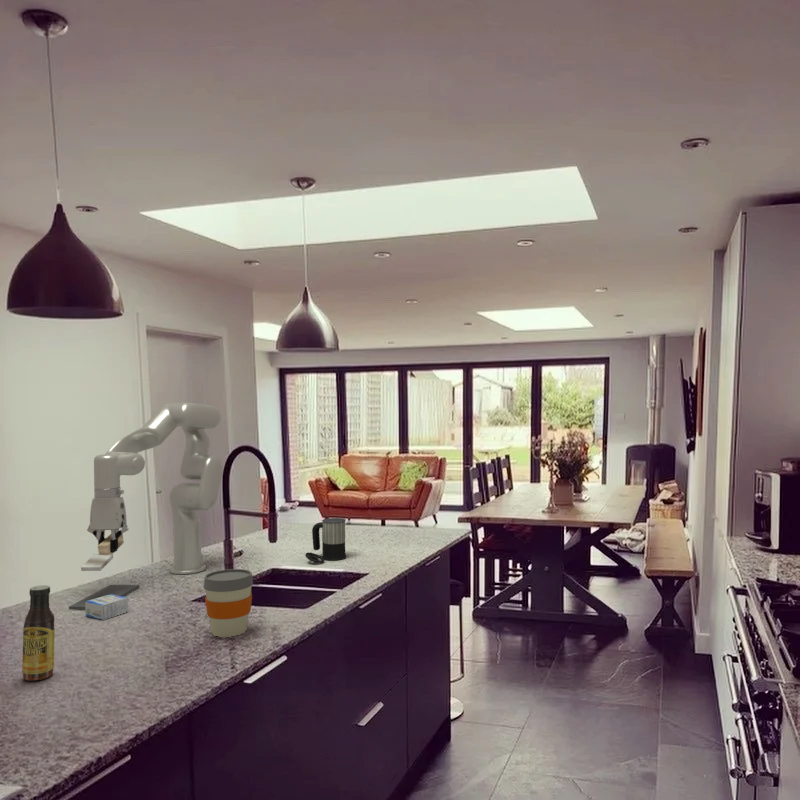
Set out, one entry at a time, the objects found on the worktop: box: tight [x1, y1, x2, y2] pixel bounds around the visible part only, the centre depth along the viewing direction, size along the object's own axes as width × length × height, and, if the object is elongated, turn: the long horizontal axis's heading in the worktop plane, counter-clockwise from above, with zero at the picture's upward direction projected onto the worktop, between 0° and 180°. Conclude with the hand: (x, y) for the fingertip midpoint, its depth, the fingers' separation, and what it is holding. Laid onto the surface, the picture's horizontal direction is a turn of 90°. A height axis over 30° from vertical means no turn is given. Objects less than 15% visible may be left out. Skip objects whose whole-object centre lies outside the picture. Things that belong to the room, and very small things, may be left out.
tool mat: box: [68, 584, 141, 610], centre depth 211 cm, size 24×10×1 cm, turn 175°
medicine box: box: [84, 594, 129, 621], centre depth 194 cm, size 8×4×9 cm
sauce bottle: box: [21, 584, 56, 682], centre depth 150 cm, size 7×6×20 cm
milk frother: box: [305, 517, 347, 564], centre depth 256 cm, size 14×16×15 cm
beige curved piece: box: [80, 533, 125, 572], centre depth 211 cm, size 18×6×4 cm, turn 175°
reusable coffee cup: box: [203, 568, 254, 638], centre depth 177 cm, size 13×13×15 cm
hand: (108, 551), depth 213 cm, fingers closed on beige curved piece, 3 cm apart
